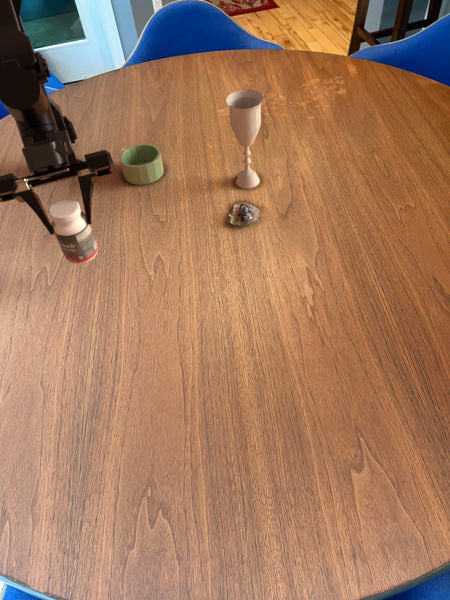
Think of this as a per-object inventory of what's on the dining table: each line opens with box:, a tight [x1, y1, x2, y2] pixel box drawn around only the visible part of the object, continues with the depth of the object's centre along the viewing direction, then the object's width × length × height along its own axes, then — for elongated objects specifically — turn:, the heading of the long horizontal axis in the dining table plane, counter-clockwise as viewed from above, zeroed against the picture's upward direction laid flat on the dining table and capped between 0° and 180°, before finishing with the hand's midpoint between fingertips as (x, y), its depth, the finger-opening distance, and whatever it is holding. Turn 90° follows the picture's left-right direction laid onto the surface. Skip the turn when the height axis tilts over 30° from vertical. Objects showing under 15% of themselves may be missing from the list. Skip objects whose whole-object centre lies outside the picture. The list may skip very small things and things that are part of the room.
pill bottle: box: [48, 198, 99, 265], centre depth 78 cm, size 6×6×10 cm
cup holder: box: [119, 143, 165, 186], centre depth 104 cm, size 9×9×4 cm
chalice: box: [225, 89, 264, 190], centre depth 94 cm, size 7×7×18 cm
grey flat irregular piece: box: [227, 202, 261, 227], centre depth 93 cm, size 7×8×2 cm
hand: (71, 229), depth 76 cm, fingers closed on pill bottle, 6 cm apart
